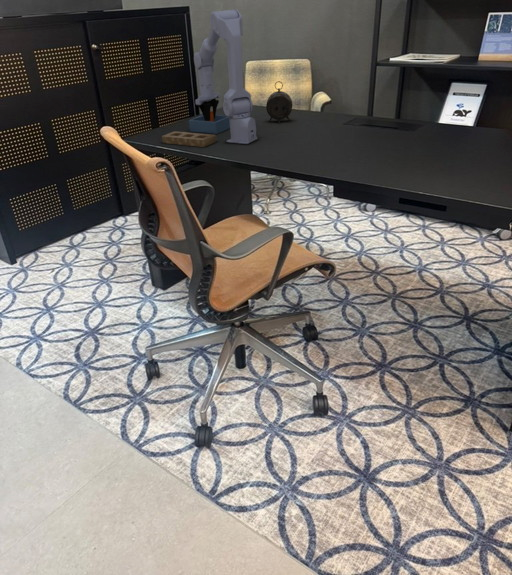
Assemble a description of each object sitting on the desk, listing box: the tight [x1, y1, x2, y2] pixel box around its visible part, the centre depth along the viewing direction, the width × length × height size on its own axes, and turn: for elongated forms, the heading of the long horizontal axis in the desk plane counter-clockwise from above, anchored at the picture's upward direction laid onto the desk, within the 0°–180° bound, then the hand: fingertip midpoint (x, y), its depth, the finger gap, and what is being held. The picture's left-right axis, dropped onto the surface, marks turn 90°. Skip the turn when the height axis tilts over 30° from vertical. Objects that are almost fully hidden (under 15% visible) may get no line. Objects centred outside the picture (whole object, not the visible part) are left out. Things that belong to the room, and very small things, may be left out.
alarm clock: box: [265, 81, 293, 123], centre depth 211 cm, size 11×5×16 cm, turn 84°
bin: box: [188, 114, 230, 135], centre depth 209 cm, size 14×12×5 cm
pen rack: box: [161, 130, 217, 148], centre depth 194 cm, size 20×8×3 cm, turn 60°
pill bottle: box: [210, 106, 214, 122], centre depth 208 cm, size 3×3×8 cm
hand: (210, 119), depth 209 cm, fingers closed on pill bottle, 3 cm apart
